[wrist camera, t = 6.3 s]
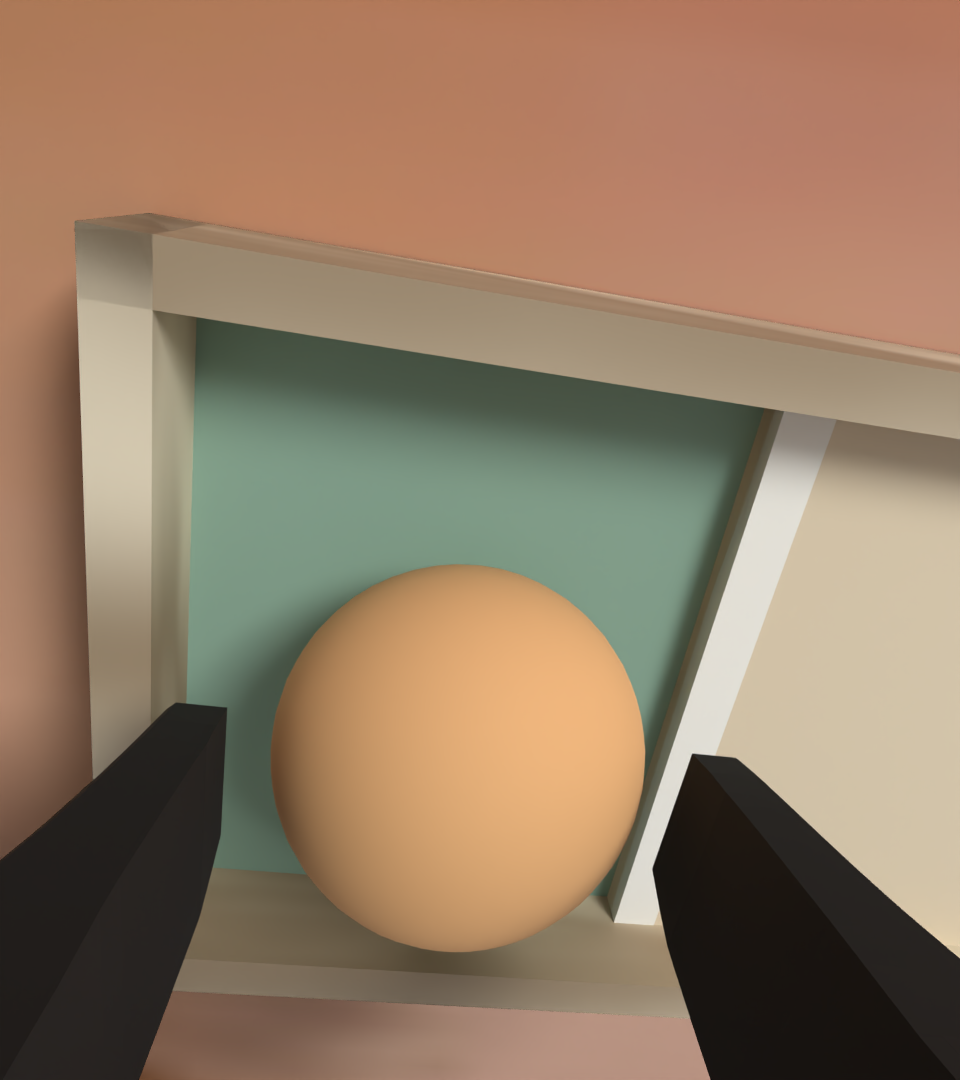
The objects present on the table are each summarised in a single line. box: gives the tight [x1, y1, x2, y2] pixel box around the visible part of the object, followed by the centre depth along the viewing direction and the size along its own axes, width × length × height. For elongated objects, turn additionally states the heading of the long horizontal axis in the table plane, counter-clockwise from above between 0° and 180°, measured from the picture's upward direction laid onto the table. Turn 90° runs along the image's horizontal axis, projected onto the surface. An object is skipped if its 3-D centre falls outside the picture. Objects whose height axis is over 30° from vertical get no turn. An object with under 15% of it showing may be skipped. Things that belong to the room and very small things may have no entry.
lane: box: [186, 317, 960, 946], centre depth 14 cm, size 12×17×1 cm
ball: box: [271, 564, 645, 952], centre depth 11 cm, size 5×5×5 cm
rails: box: [75, 213, 960, 1019], centre depth 13 cm, size 12×17×2 cm
